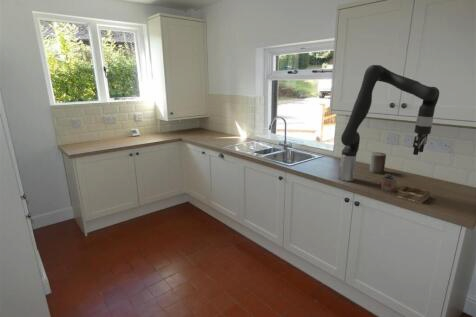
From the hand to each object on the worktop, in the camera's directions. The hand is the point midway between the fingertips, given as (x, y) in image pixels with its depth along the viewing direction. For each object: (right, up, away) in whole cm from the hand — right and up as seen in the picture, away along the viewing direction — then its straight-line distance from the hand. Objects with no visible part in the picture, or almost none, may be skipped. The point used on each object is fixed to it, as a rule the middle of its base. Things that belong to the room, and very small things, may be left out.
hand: (417, 153), depth 160 cm
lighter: (-9, -23, +16) cm, 29 cm away
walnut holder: (+1, -25, +6) cm, 26 cm away
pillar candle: (+1, -13, +50) cm, 52 cm away
